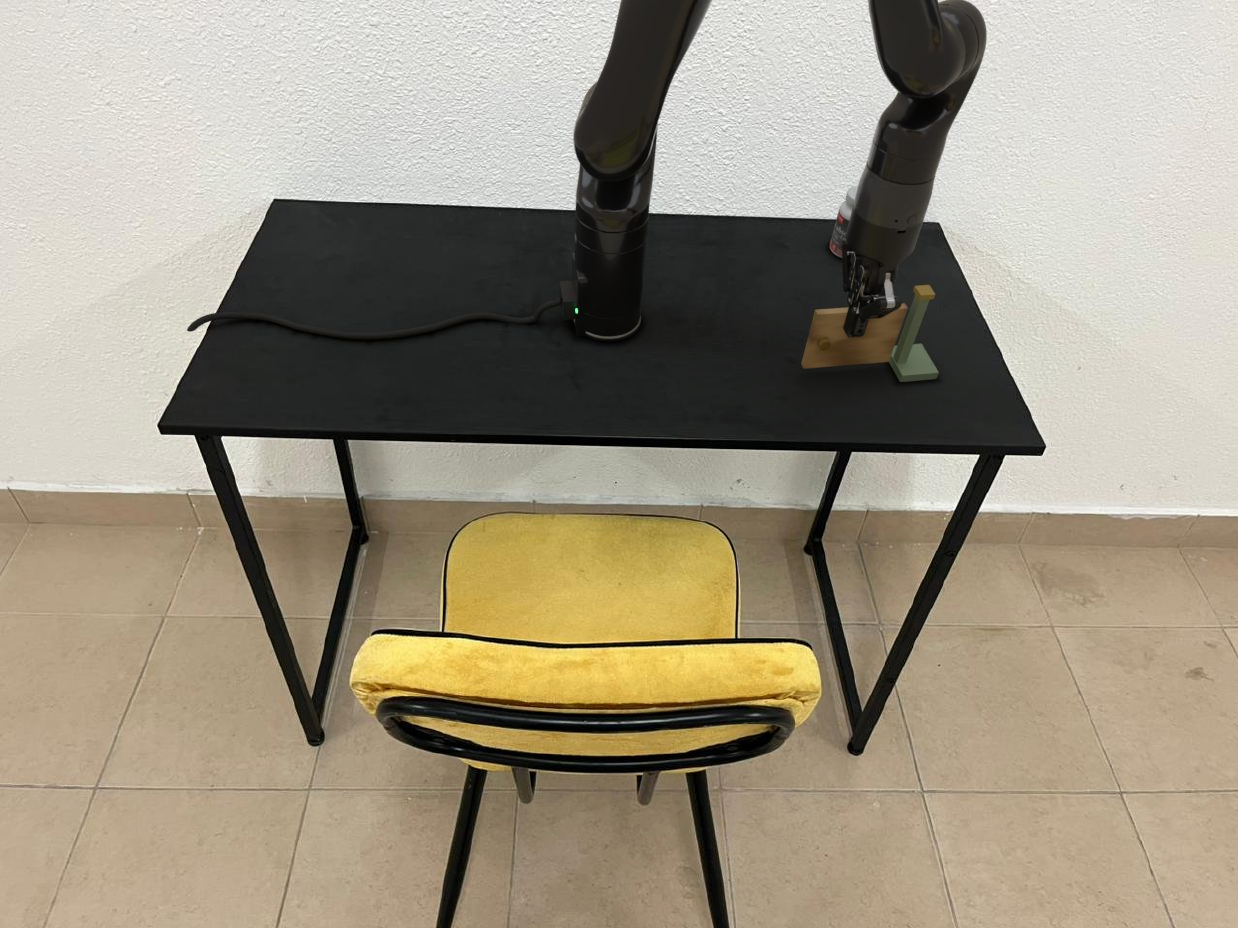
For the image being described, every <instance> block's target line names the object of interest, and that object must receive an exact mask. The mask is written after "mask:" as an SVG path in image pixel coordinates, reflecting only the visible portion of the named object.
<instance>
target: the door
mask: <svg viewBox="0 0 1238 928" xmlns="http://www.w3.org/2000/svg"><path fill="white" fill-rule="evenodd" d="M848 308H849V306H848V307H833V308H820V309H819V308H818V309H814V313H813V317H812V320H811V325H810V328H809V332H808V336H807V340H806V344H805V348H804V350H803V356H802V359H801V367H802V369H803V370H805V369H816V368H817V369H820V368H829V367H841V366H843V367H844V366H854V365H855V366H856V365H865V364H867V365H869V364H879V363H889V360H890V357H891V354H892V352H893V349H894V346H896V343H897V340H898V338H899V335H900V331H901V328H902V326H903V323H904V320H905V317H906V315H907V312H908V309H909V308H908V306H907V304H906V303H903V302H902V305H901V307H900V308H899V309H897V310H895V311H893V312H892V313H890V314H888V315H886V316H884V317H883V318H879V319H877V318H874V319H869V321H868V324H867V328H866V331H865V334H864V335H863V336H861V337H853V338H848V337H847V335H846V333H845V331H844V329H843V326H844V322H845V319H846V315H847V312H848Z"/></svg>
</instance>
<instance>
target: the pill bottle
mask: <svg viewBox="0 0 1238 928" xmlns="http://www.w3.org/2000/svg"><path fill="white" fill-rule="evenodd" d="M857 188H858V185H855V186H854V185H853V186H851V187H850V188H848V190H847V191H846V195H845V200H844V201H843V202H842V203H841V204H840V206H839V208H838V212H837V216H836V219H835V223H834V227H833V230H832V234H831V238H830V242H829V249H830V251H831V252H832V254H833V255H835V256H836V257H838V258H840V259H842V242H843V240H846V231H847V227H848V223H849V220H850V216H851V212H852V208H853V204H854V200H855V196H856V192H857Z"/></svg>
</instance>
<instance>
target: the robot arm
mask: <svg viewBox="0 0 1238 928" xmlns="http://www.w3.org/2000/svg"><path fill="white" fill-rule="evenodd" d="M712 3H713V0H620V3H619V7H618V11H617V12H618V13H617V17H616V21H615V26H614V30H613V36H612V40H611V43H610V47H609V51H608V54H607V57H606V60H605V62H604V65H603V67H602V70H601V72H600V73H599V76H598V78H597V80H596V82H595V83H593V84H592V85H591V86H590V87H589V89H588V90H587V91H586V93H585V95H584V97H583V99H582V102H581V104H580V108H579V111H578V113H577V116H576V118H575V122H574V126H573V131H572V142H573V149H574V154H575V156H576V159H577V161H578V163H579V168H578V176H577V182H576V183H577V184H576V189H575V212H574V213H575V216H574V218H575V219H574V220H575V221H574V223H575V224H574V228H575V229H574V252H573V253H572V254H571V280H560V281H559V285H558V286H559V289H558V290H559V291H558V292H559V293H558V294H559V295H558V296H559V297H557V298H555V299H553V300H549V301H547V302H545V303H543V304H541V305H540V306H538V307H537V308H536V310H535V311H534V314H533V315H531V316H530V315H529V316H526V317H525V316H524V317H517V316H510V315H506V314H500V313H495V312H486V311H485V312H484V311H480V312H479V311H478V312H470V313H466V314H461V315H457V316H454V317H451V318H448V319H445V320H442V321H439V322H435V323H432V324H428V325H421V326H416V327H410V328H404V329H398V330H397V329H396V330H390V331H379V332H378V331H374V332H373V331H371V332H363V331H359V332H358V331H344V330H337V329H330V328H325V327H319V326H314V325H309V324H303V323H299V322H295V321H292V320H289V319H287V318H284V317H280V316H277V315H273V314H269V313H265V312H264V313H262V312H249V311H221V312H220V311H219V312H214V313H213V312H212V313H209V314H206V315H202V316H200V317H198V318H196V319H195V320H194V321H193V322H191V323H190V324H189V326H187V329H186V331H187V332H195V331H196V330H197V329H198V328H200V327H201V326H202V325H205V324H206V323H209V322H213V321H218V320H256V321H257V320H259V321H266V322H271V323H274V324H278V325H280V326H284V327H287V328H289V329H293V330H296V331H300V332H305V333H311V334H316V335H321V336H325V337H333V338H339V339H346V340H347V339H349V340H386V339H396V338H404V337H409V336H415V335H420V334H426V333H430V332H431V333H432V332H434V331H438V330H441V329H446V328H448V327H451V326H453V325H457V324H460V323H461V324H462V323H464V322H470V321H475V320H492V321H497V322H502V323H503V322H504V323H509V324H510V323H511V324H520V325H529V324H533V323H536V322H537V321H539V319H541V317H542V314H543V313H544V312H546V311H547V310H549V309H552V308H555V307H558V306H560V309H561V314H562V319H563V321H567V320H569V321H570V320H572V321H573V325H574V329H575V333H576V337H579V338H581V337H586V338H589V339H591V340H593V341H598V342H605V343H607V342H609V343H611V342H612V343H613V342H619V341H622V340H626V339H629V338H630V337H632V336H633V335H635V334H636V333H637V332H638V330H639V328H640V327H641V321H642V301H643V290H644V289H643V288H644V278H645V277H644V275H645V264H646V252H647V239H648V228H649V227H648V226H649V215H650V204H651V199H652V190H653V182H654V175H655V161H656V151H657V141H658V129H659V120H660V118H661V114H662V112H663V111H662V110H663V107H664V105H665V101H666V98H667V96H668V93H669V90H670V88H671V84H672V83H673V80H674V77H675V75H676V74H677V71H678V69H679V67H680V65H681V63H682V61H683V60H684V57H685V56H686V55H687V53H688V51H689V48H690V47H691V45H692V43H693V41H694V40H695V37H696V35H697V33H698V31H699V29H700V28H701V26H702V23H703V22H704V19H705V17H706V15H707V13H708V11H709V9H710V7H711V4H712ZM867 6H868V14H869V19H870V24H871V30H872V36H873V40H874V47H875V51H876V56H877V59H878V62H879V65H880V68H881V71H882V73H883V74H884V76H885V78H886V79H887V81H888V83H889V84H890V86H892V87H893V88H894V90H896V91H897V93H896V95H895V97H894V98H893V100H892V101H891V102H890V103H889V104H888V105H887V107H886V108H885V109H884V110H883V111H882V113H881V114H880V116H879V119H878V121H877V124H876V126H875V128H874V133H873V136H872V141H871V144H870V148H869V152H868V156H867V160H866V163H865V165H864V168H863V171H862V173H861V175H860V179H859V181H858V185H857V186H858V188H857V192H856V196H855V200H854V204H853V208H852V212H851V216H850V220H849V223H848V227H847V231H846V240H843V242H842V258H841V261H842V262H841V263H842V286H843V287H842V288H843V291H844V292H845V293H848V294H847V299H846V301H847V302H846V303H847V305H848V307H849V308H848V312H847V315H846V319H845V322H844V326H843V329H844V331H845V333H846V335H847V337H848V338H853V337H861V336H863V335H864V334H865V331H866V328H867V324H868V321H869V319H874V318H877V319H879V318H883V317H884V316H886V315H888V314H890V313H892V312H893V311H895V310H897V309H899V308H900V307H901V305H902V304H903V301H902V298H901V296H895V294H894V287H893V285H894V284H895V283H896V282H897V279H898V270H899V265H900V263H901V262H903V261H904V260H905V259H907V258H908V257H909V256H910V255H911V254H913V252H914V251H915V249H916V245H917V242H918V239H919V236H920V233H921V229H922V227H923V224H924V220H925V217H926V214H927V212H928V208H929V205H930V203H931V198H932V195H933V191H934V184H935V179H936V175H937V172H938V169H939V166H940V162H941V159H942V157H943V154H944V150H945V148H946V143H947V138H948V135H949V133H950V130H951V128H952V126H953V124H954V122H955V120H956V118H957V116H958V114H959V113H960V110H961V109H962V106H963V105H964V103H965V100H966V98H967V96H968V94H969V92H970V90H971V88H972V86H973V84H974V83H975V80H976V78H977V76H978V73H979V70H980V68H981V66H982V63H983V59H984V57H985V52H986V48H987V40H988V39H987V38H988V33H987V32H988V31H987V25H986V21H985V18H984V16H983V14H982V12H981V10H979V9H978V7H976V5H974V4H973V3H972V2H970V1H968V0H942V1H939V0H867Z"/></svg>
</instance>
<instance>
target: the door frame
mask: <svg viewBox="0 0 1238 928" xmlns="http://www.w3.org/2000/svg"><path fill="white" fill-rule="evenodd" d="M912 291H913V293H914V298H913V300H912V303H911V305H910V308H909V311H908V314H907V317H906V320H905V323H904V326H903V328H902V330H901V334H900V337H899V338H898V343H897V344H896V345H895V346H894V349H893V352H892V354H891V357H890V360H889V362H888V363H889V365H890V367H891V369H892V370H893V372H894V374H895V376H896V378H897V379H898V381H899V382H900V383H905V382H906V383H907V382H918V381H929V380H931V381H932V380H937V378H938V376H939V374H940V372H939V370H938V369H937V366H936V365H935V363H934V362H933V360H932V358H931V356H930V355H929V353H928V352H927V350H926V349H925V347H924V345H923V344H922V343H915V342H916V338H917V335H918V332H919V330H920V327H921V324H922V321H923V319H924V317H925V313H926V311H927V308H928V306H929V303H930V301H931V300H934V299H935V296H936V292H935V291H934V290H933V288H932V286H931V285H930V284H923V285H914V287H913V290H912Z"/></svg>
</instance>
